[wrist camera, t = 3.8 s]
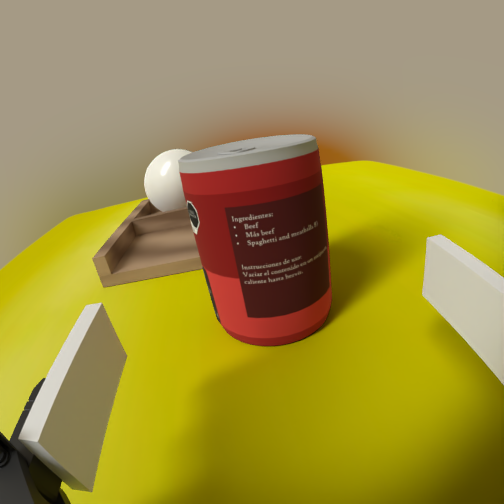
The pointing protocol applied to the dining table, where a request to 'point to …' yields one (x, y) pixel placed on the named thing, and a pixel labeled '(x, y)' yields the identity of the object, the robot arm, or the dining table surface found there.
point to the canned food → (262, 235)
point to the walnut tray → (148, 246)
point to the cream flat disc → (165, 181)
